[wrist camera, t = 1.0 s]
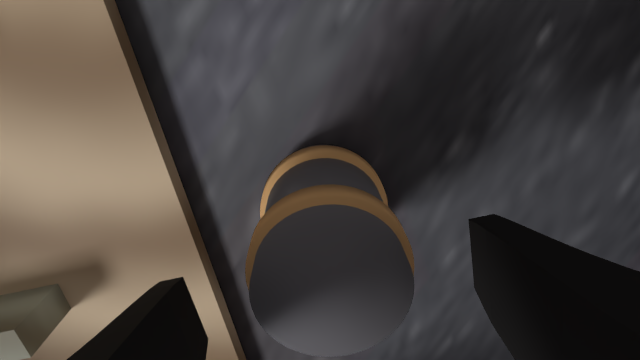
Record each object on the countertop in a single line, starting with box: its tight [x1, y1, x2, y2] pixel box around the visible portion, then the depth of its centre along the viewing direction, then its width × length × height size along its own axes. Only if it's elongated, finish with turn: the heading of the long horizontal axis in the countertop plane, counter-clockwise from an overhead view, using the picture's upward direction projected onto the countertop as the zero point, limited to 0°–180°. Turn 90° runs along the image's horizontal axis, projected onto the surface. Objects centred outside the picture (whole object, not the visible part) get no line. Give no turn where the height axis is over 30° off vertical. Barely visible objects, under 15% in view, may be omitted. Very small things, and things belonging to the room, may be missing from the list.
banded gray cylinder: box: [245, 144, 414, 357], centre depth 13 cm, size 4×4×6 cm
